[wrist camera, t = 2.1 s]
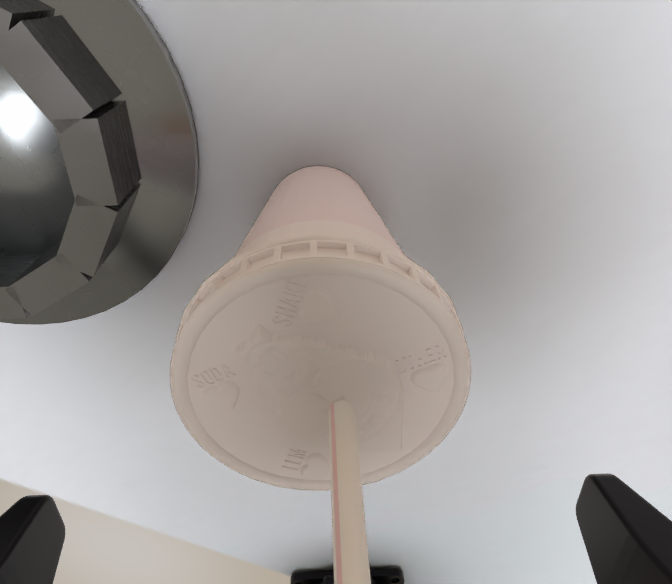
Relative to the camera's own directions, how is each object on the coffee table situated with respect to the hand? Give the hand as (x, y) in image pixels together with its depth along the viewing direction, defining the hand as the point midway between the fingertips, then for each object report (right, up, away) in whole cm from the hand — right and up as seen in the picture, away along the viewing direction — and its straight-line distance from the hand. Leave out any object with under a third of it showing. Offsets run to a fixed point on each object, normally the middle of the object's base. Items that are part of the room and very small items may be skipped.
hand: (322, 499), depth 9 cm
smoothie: (0, +6, +11) cm, 12 cm away
